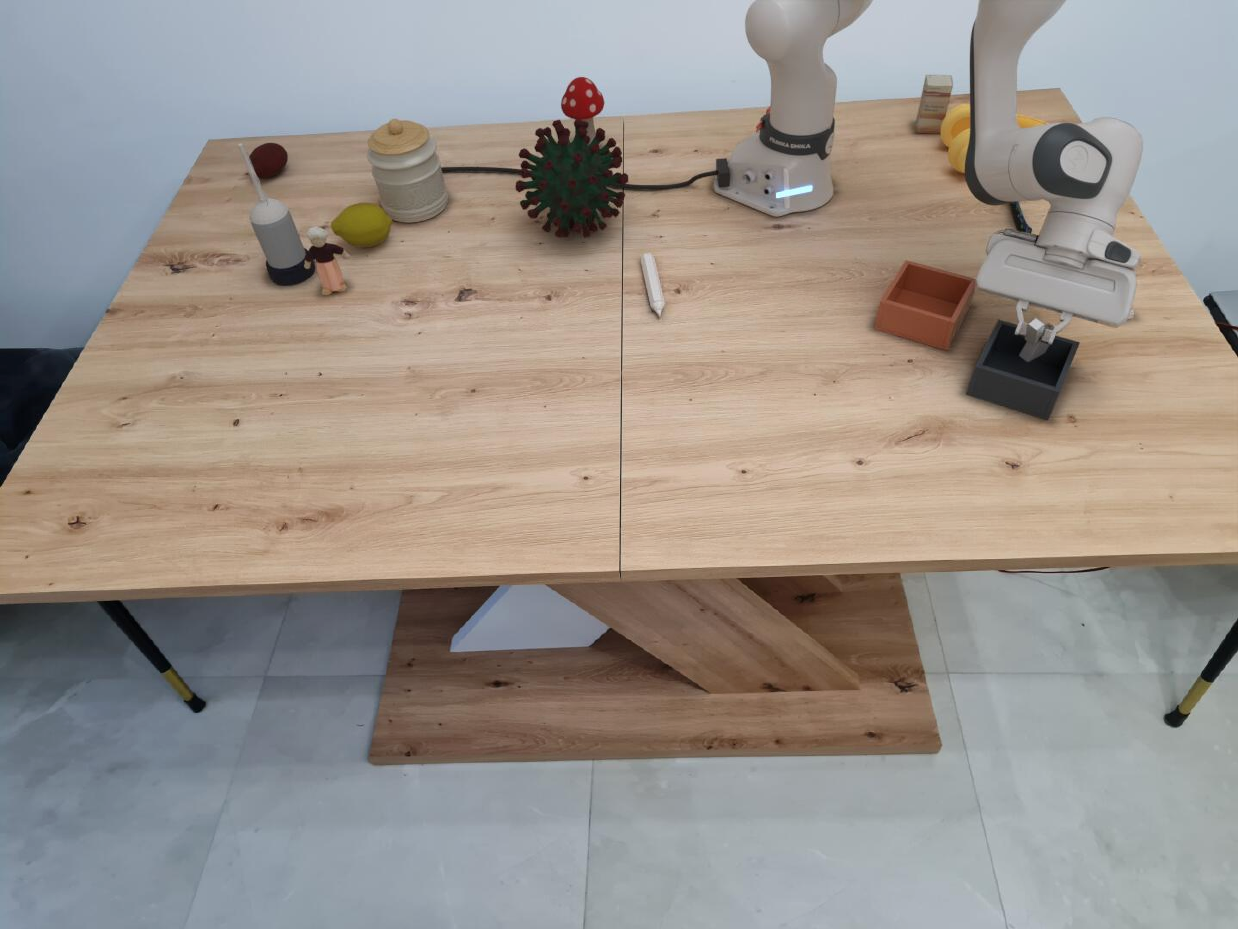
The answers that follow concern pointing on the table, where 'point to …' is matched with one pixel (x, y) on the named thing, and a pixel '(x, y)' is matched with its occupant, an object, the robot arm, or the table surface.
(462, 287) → the table surface
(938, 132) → the beige brown box
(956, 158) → the headset
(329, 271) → the grandmother figurine
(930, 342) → the terracotta bin
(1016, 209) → the knife
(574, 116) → the decorative mushroom
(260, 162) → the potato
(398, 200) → the jar
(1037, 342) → the lighter
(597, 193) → the virus model
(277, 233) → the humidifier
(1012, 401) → the grey bin
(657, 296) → the marker
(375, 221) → the lemon
